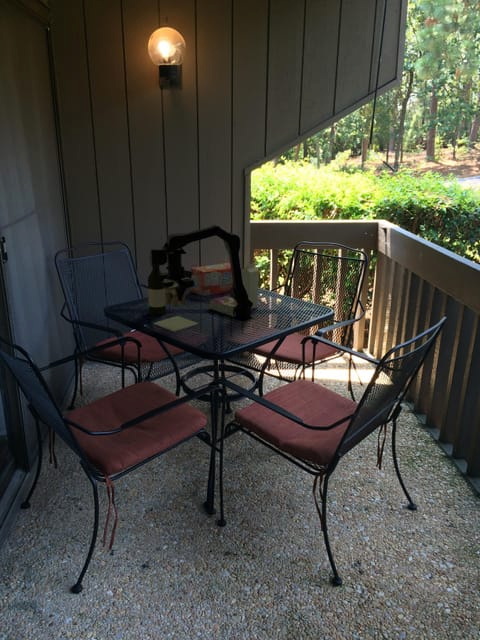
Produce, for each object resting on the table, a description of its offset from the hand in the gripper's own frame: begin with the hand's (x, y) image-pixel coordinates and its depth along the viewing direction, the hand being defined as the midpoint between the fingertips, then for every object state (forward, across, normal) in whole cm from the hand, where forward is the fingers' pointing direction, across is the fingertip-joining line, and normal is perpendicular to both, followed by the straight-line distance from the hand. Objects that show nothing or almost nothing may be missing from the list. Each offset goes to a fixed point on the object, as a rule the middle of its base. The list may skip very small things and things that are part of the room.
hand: (175, 299), depth 215 cm
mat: (+12, 0, 0) cm, 12 cm away
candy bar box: (+9, +6, -31) cm, 33 cm away
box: (+12, +27, -52) cm, 59 cm away
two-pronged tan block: (+2, 0, 0) cm, 2 cm away
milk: (+12, -6, -42) cm, 44 cm away
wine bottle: (+12, +18, -4) cm, 22 cm away
